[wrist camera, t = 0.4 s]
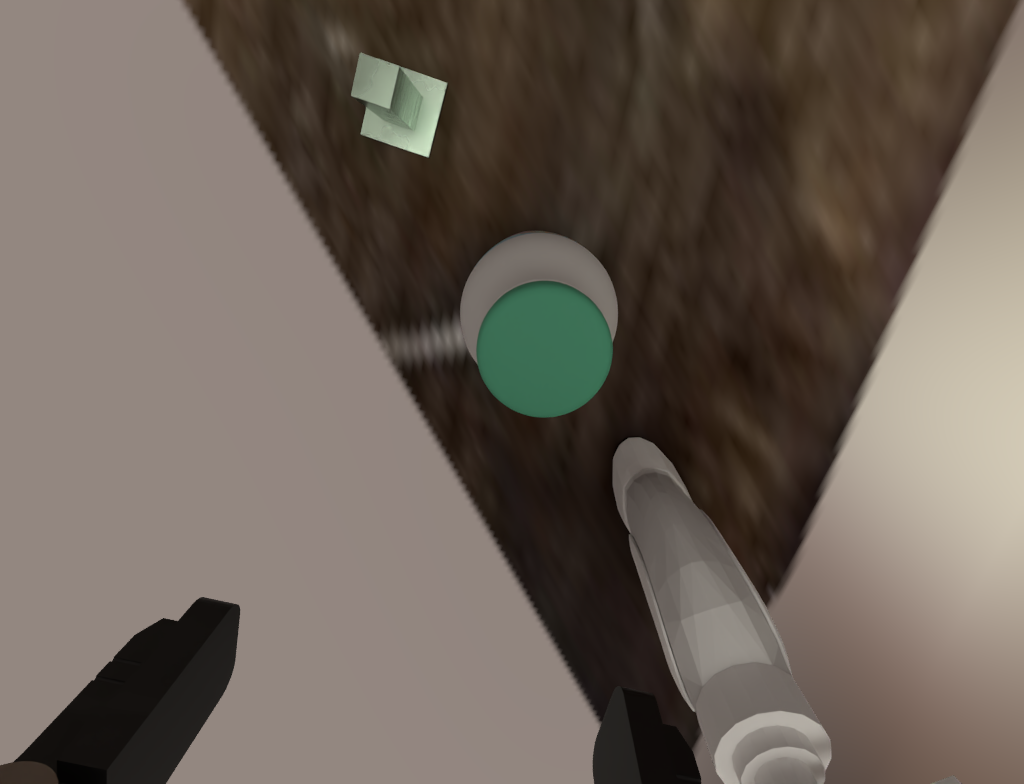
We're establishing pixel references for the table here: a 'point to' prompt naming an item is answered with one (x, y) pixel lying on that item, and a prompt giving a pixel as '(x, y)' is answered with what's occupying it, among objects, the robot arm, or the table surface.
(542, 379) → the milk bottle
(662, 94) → the table surface
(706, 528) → the soap bottle
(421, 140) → the gate posts
